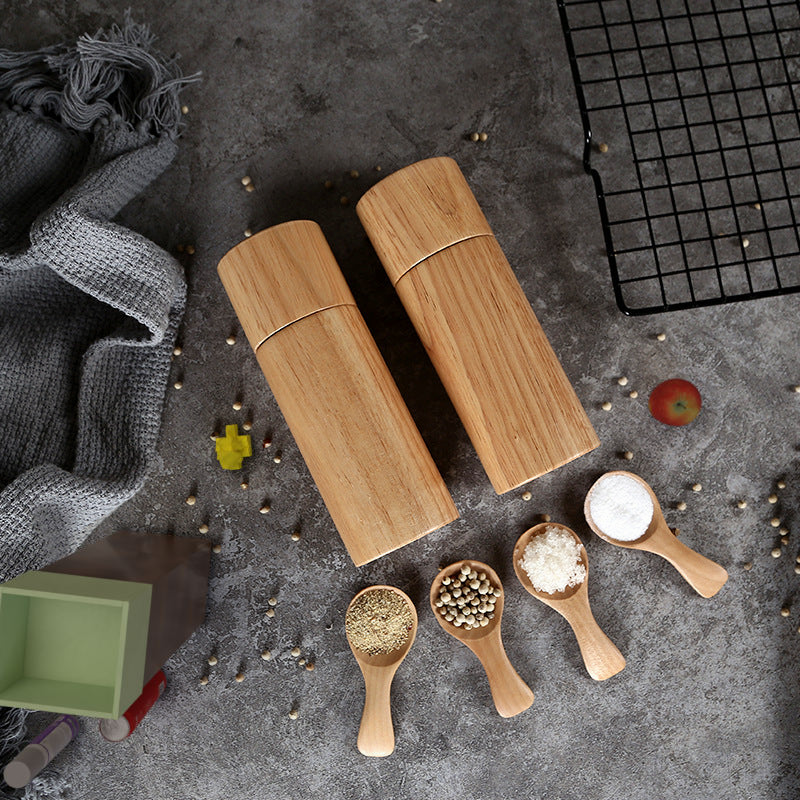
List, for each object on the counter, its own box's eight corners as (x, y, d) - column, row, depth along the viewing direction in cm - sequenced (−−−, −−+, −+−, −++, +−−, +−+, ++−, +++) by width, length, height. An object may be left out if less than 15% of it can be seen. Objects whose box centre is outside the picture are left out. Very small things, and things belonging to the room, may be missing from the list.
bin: (20, 678, 91) (-15, 704, 83) (30, 570, 90) (-4, 586, 83) (142, 693, 90) (117, 720, 83) (152, 584, 90) (129, 601, 83)
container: (53, 736, 119) (1, 786, 104) (57, 711, 118) (4, 758, 103) (78, 739, 118) (29, 791, 103) (81, 715, 118) (32, 762, 103)
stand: (113, 610, 118) (22, 676, 91) (121, 529, 117) (32, 572, 90) (204, 620, 117) (140, 690, 90) (212, 539, 117) (150, 586, 90)
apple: (695, 392, 114) (722, 392, 104) (673, 432, 114) (698, 436, 104) (655, 370, 114) (677, 369, 104) (633, 411, 114) (653, 413, 104)
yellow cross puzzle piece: (249, 423, 116) (236, 425, 108) (253, 466, 116) (241, 472, 109) (217, 426, 116) (202, 429, 109) (221, 469, 117) (207, 475, 109)
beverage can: (163, 661, 118) (125, 701, 103) (172, 695, 118) (136, 740, 103) (132, 669, 118) (90, 710, 103) (141, 703, 118) (101, 749, 103)
